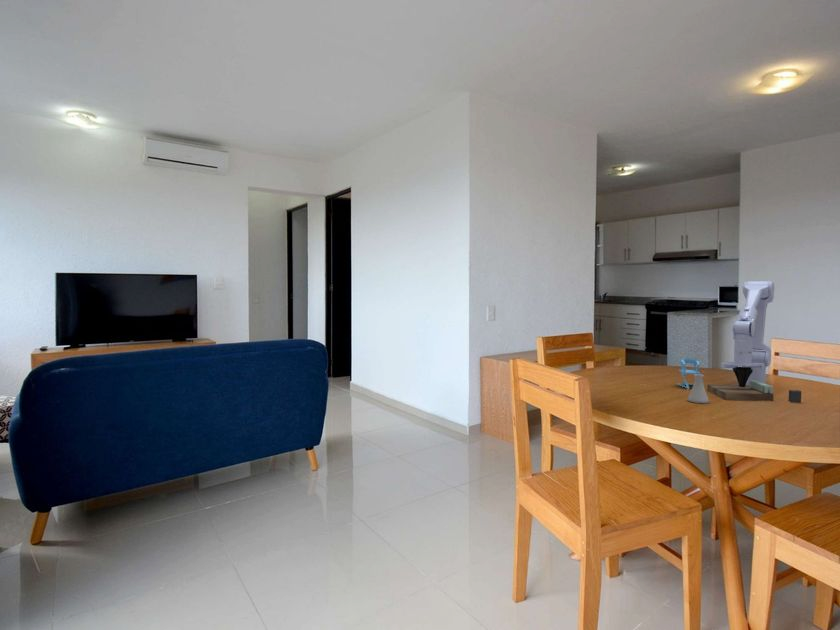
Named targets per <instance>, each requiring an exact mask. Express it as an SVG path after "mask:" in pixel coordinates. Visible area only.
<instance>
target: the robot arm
mask: <svg viewBox="0 0 840 630" xmlns="http://www.w3.org/2000/svg"><path fill="white" fill-rule="evenodd" d="M742 293H743V295H744V298H745V305H744V306H743V307H741V308H740V311H739V314H738V317H737V319H736V320H735V321H733V323H732V337H733V340H734V341H733V342H734V346H733V361H731V362H721V363H720V368H722V369H732V371H733V373H734V375H735V377H736V379H737V385H739V386H740V387H745V386H746V385H749V383H750V380H756V381H759V382H762V383H765V384H766V375H767V374H766V373H767V367H769V366H770V365H771V363H772V350H771V347H769V345H767V344H766V343H764V339H765V328H766V327H765V326H766V316H767V308H768V304H770V303H772V302H774V298H775V297H774V295H775V283H774V282H773V280H763V281H761V280H759V281H758V280H756V281H753V280H752V281H749V280H745V281H744V282H743V285H742Z"/></svg>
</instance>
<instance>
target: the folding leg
mask: <svg viewBox="0 0 840 630" xmlns="http://www.w3.org/2000/svg"><path fill="white" fill-rule="evenodd" d="M749 387H751V388H754V389H756V390H759V391H761V392H764V393H772V394H774V391H773V390H774V386H773V385H770V384H767V383H766V382H765V383H762V382H759V381H756V380H750V383H749Z"/></svg>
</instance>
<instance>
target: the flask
mask: <svg viewBox="0 0 840 630" xmlns="http://www.w3.org/2000/svg"><path fill="white" fill-rule="evenodd" d="M693 376H694V382H693V384H694V385H693V386H692V388H691V389H690V392H689V394H688V397H687V401H688V402H691V403H697V404H709V403H710V400H709V397H708V395H707V392H706V389H705V386H704V374H701V373H700V374H693Z"/></svg>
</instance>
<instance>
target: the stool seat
mask: <svg viewBox="0 0 840 630" xmlns="http://www.w3.org/2000/svg"><path fill="white" fill-rule="evenodd" d="M707 391H708V392H709V393H712V394H714V395H715V396H718V397H720V398H722V399H723V400H726V401H755V402H757V401H758V402H759V401H762V402H768V401H769V402H773V401H774V400H775V399H774V393H764V392H761V391H759V390H756V389H754V388H751V387H749V385H746V386H745V387H740V386H739V385H738V384H717V383H716V384H714V383H713V384H708V383H707Z"/></svg>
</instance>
